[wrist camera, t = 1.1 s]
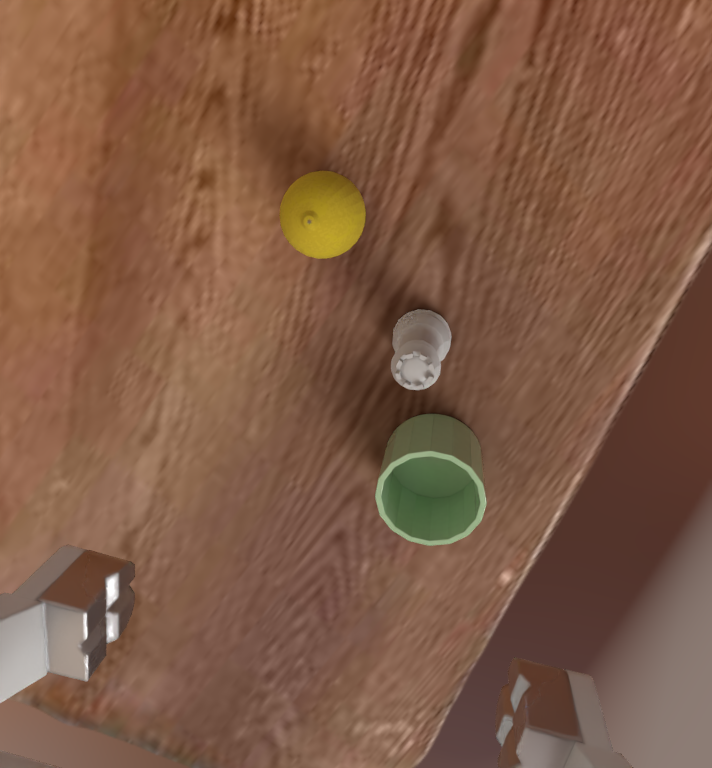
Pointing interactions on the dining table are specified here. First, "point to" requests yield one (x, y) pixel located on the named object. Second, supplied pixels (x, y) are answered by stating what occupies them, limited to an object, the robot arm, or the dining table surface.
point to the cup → (432, 480)
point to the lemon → (322, 214)
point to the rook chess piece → (419, 348)
